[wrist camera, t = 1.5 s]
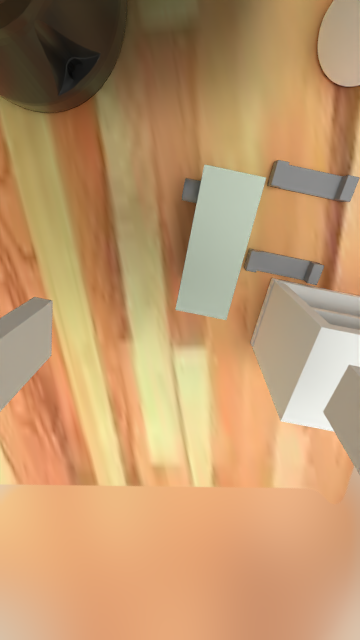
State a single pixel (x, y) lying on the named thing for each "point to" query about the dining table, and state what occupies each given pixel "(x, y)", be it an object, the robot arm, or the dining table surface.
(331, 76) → the can
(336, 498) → the dining table surface
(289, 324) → the cabinet
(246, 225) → the door
